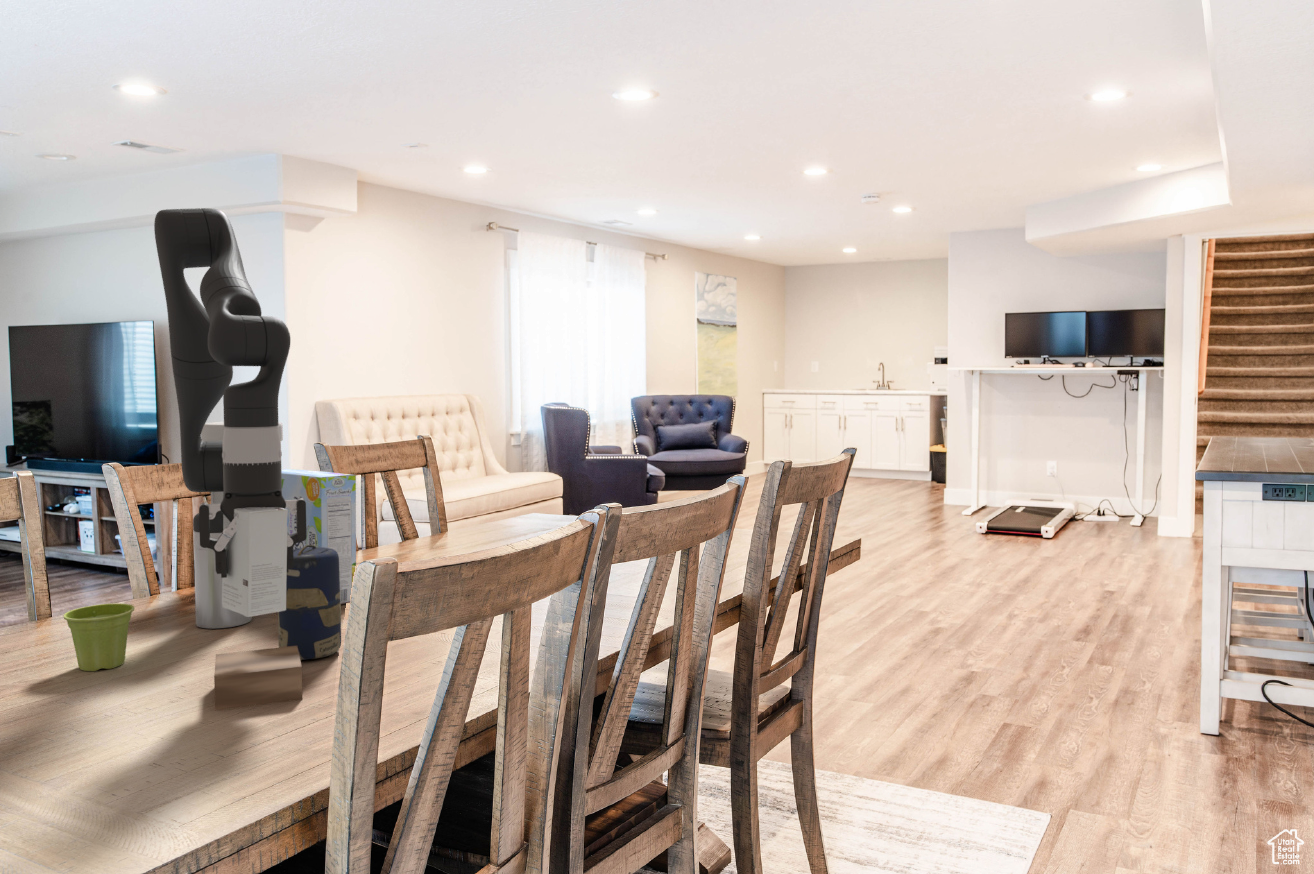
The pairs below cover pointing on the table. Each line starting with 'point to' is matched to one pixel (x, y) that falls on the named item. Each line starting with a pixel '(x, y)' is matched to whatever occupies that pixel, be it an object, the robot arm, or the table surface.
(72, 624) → the plant pot
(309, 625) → the canister
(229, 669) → the walnut block
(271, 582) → the skincare box
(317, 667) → the table surface
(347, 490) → the snack box
